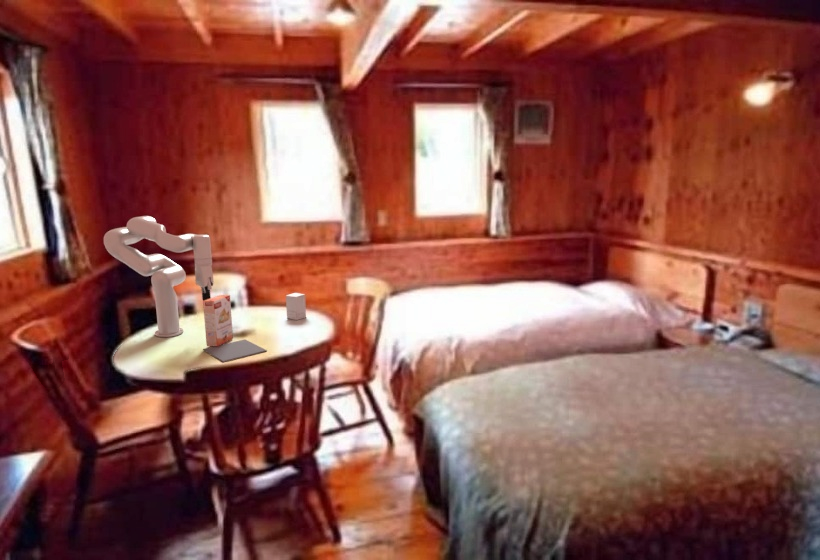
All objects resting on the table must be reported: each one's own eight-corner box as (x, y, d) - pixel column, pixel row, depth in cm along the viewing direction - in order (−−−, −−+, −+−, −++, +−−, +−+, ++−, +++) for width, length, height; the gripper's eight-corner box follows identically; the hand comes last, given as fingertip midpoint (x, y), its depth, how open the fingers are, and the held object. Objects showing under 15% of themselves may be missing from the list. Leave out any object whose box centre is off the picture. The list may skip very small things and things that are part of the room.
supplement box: (306, 317, 298) (305, 294, 296) (296, 320, 292) (295, 297, 290) (296, 315, 302) (295, 292, 300) (286, 318, 296) (285, 295, 293)
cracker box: (218, 347, 249) (214, 300, 245) (206, 346, 250) (201, 300, 246) (234, 338, 262) (230, 294, 258) (222, 338, 263) (218, 294, 260)
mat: (202, 350, 246) (202, 348, 246) (245, 340, 260) (245, 339, 260) (223, 362, 232) (223, 360, 232) (266, 351, 246) (266, 350, 245)
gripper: (188, 260, 260) (192, 299, 264) (202, 264, 250) (205, 304, 254) (204, 258, 265) (207, 296, 269) (218, 262, 255) (221, 301, 259)
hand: (206, 300), depth 261 cm, fingers closed
